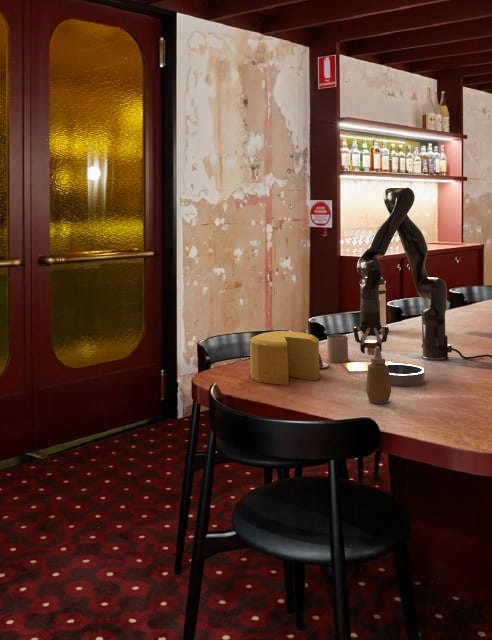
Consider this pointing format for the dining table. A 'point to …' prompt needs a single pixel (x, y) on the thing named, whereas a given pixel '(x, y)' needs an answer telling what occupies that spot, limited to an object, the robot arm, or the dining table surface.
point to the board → (359, 366)
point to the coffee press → (380, 300)
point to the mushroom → (371, 346)
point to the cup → (337, 348)
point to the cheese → (284, 357)
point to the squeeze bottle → (378, 379)
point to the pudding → (321, 364)
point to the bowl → (405, 375)
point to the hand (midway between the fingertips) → (371, 352)
